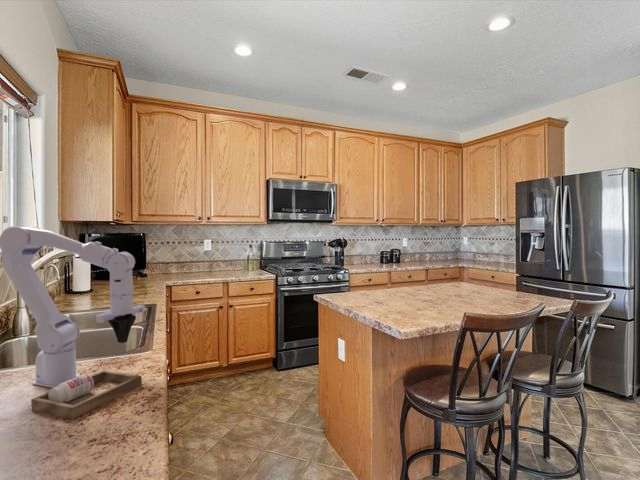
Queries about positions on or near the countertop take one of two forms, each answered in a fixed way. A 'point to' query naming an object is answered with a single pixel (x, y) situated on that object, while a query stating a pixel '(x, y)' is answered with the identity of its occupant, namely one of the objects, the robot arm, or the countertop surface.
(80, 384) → the pill bottle
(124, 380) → the walnut frame
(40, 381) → the robot arm
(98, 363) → the countertop surface
